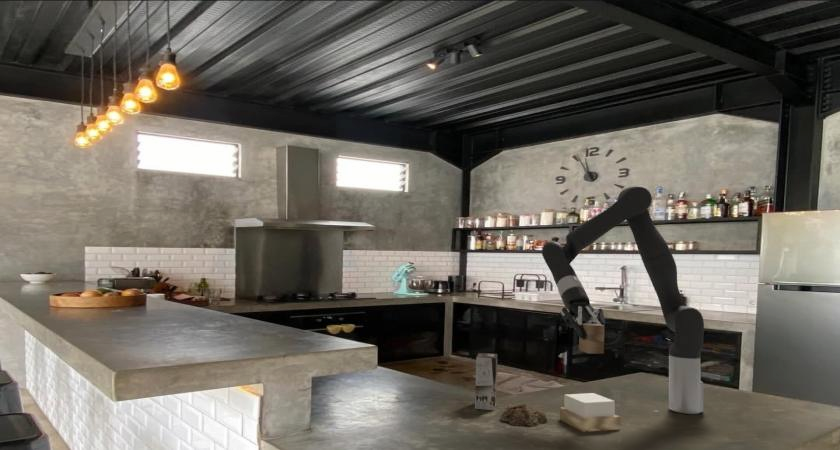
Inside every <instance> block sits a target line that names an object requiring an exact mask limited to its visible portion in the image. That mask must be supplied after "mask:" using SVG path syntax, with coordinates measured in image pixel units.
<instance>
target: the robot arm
mask: <svg viewBox="0 0 840 450" xmlns="http://www.w3.org/2000/svg"><path fill="white" fill-rule="evenodd" d="M617 197H618V198H617V200H616V201H615V202H614V203H613V204H612V205H611V206H609V207H608V208H606V209H605V210H603V211H602V212H600V213H598V214H597V215H595V216H593V217H591V218H590V219H587V220H586V221H585V222H583V223H581V224H580V225H578V226H576V228H574V229H572V231H570V232H569V233H568V234H567V235H566V237H565V244H564V245H563V246H562V244H561V243H559V242H557V241H554V240H552V241H548V242H546V243H544V245H543V246H542V250H541V256H542V258H543V260H544V262H545V264H546V266H547V267H548V269H549V270H550V272H551V275H552V279H553V281H554V283H555V285H556V288H557V290H558V294H559V297H560V298H561V300H562V303H563V305H564V307H562V308H561V310H560V312H559V315H560V316H561V318H562V319H563V321H564V322H565V324H566V325H567V326H568V328H570V329H573V328H574V330H576V332H577V334H578V337H580V338H582V340H585V339H586V337H587V334H586V332H585V329H584V327H583V325H582V323H583V322H585V323H595V324H600V325H604V326H605V324H606V319H605V315H604V311H603V308H598V309H595V308H594V307H593V306H592V305H591V302H590V301H591V300H590V298H589V296H588V294H587V292H586V289H585V288H584V285H583V284H582V282H581V280H580V279H579V278H578V275H577V273H576V272H575V270H574V267H572V265H571V263H572V262H573V261H574V260H575V259H576V258H577V256H579V254H580V253H581V252H582V251H583V250H584V249H586V248H588V247H589V246H590V245H591V244H593V243H595V242H596V241H597V240H599V239H600V238H601V237H602V236H604V235H605V234H607V233H608V232H609V231H611V230H612V229H614V228H616V227H618V226H619V225H620V224H621V223H623V222H627V224H628V227H629V229H630V230H631V233H632V235H633V238H634V242H635V245H636V247H637V250H638V253H639V256H640V258H641V261H642V263H643V266H644V269H645V272H646V273H647V275H648V277H649V279H650V282H651V284H652V286H653V288H654V292H655V293H656V296H657V298H658V302H659V305H660V308H661V312H662V315H663V319H664V322H665V324H666V327H668V329H669V330H670V331H671V332H673V333H674V340H673V344H671V345H670V346H669V348H668V409H669V410H670V411H673V412H676V413H680V414H687V415H698V414H700V413H704V382H703V381H702V380H701V352H702V350H703V348H704V337H705V336H704V335H705V334H704V333H705V323H704V322H705V321H704V317H703V315H702V313H701V312H700V311H699V310H698V309H696V308H695V307H691V306H687V305H686V303H685V301H684V299H683V297H682V295H681V293H680V290H679V289H680V288H679V285H678V268H677V267H678V266H677V262H676V261H675V258H674V256H673V253H672V251H671V249H670V247H669V245H668V243H667V242H666V239H664V237H663V235H662V234H661V233H660V231H659V230H658V229H657V227H656V226H655V224H654V223H653V220H652V218H651V214H650V212H649V208H650V207H651V204H652V201H653V200H652V194H651V192H650V191H649V189H647V188H646V187H643V186H642V185H632V186H629V187H625V188H624V189H622V190H621V191H620V192H619V194H618V196H617ZM604 336H605V333H604Z"/></svg>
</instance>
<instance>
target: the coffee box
mask: <svg viewBox="0 0 840 450" xmlns="http://www.w3.org/2000/svg"><path fill="white" fill-rule="evenodd" d="M475 359H476V361H475V385H474V387H475V389H474V390H475V391H474V396H475V397H474V409H475V410H485V411H495V409H496V406H497V394H498V393H497V392H498V390H497V389H498V388H497V387H498V386H497V384H498V354H497V353H486V352H485V353H481V352H479V353H477V355H476V357H475Z"/></svg>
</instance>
